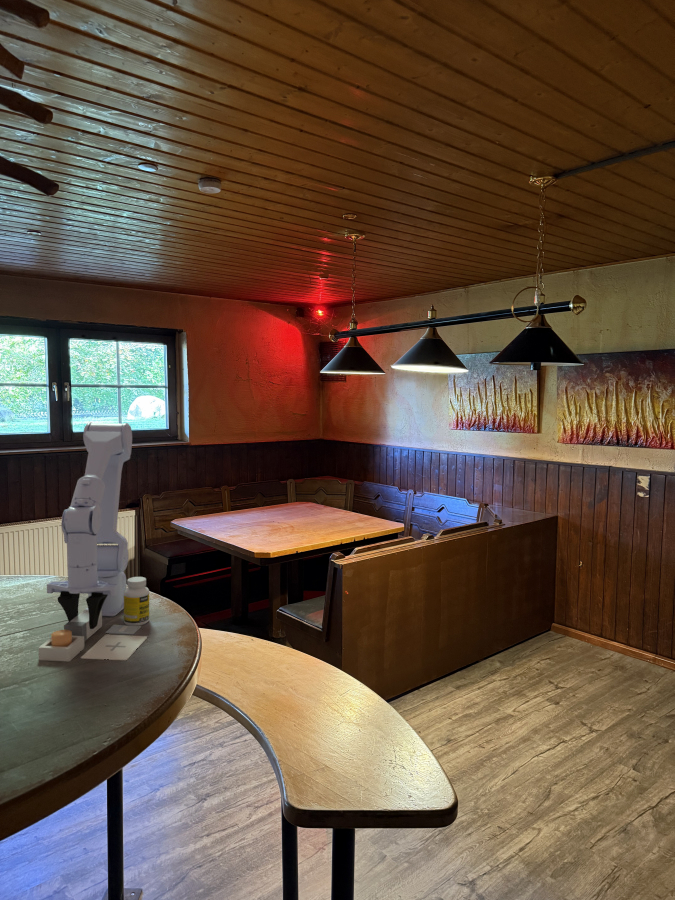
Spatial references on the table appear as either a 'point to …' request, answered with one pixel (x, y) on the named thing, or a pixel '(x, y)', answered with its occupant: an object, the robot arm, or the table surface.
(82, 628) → the grey rectangular prism
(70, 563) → the robot arm
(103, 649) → the paper sheet
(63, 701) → the table surface
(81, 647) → the button box
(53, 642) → the button
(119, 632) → the card
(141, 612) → the supplement bottle
